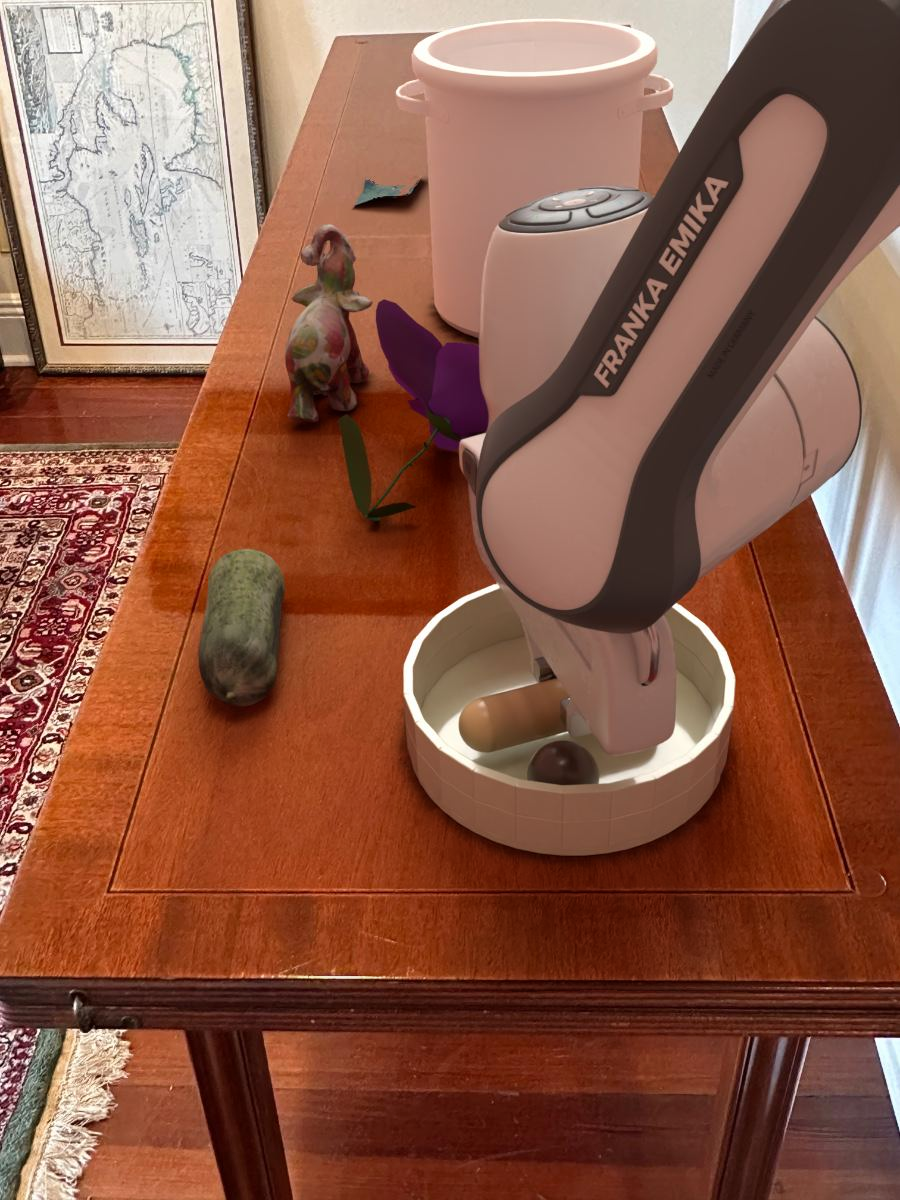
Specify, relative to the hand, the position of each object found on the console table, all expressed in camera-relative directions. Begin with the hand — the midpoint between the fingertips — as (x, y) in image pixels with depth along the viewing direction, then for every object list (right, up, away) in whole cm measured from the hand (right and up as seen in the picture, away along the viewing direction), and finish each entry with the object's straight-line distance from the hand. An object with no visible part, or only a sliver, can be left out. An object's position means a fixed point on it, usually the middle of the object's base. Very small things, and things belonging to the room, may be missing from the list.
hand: (563, 702), depth 70 cm
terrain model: (-14, +58, +83) cm, 102 cm away
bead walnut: (0, -4, -4) cm, 6 cm away
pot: (+2, +36, +53) cm, 64 cm away
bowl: (0, -2, +2) cm, 3 cm away
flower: (-9, +14, +25) cm, 30 cm away
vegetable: (-20, +2, +10) cm, 23 cm away
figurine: (-18, +24, +38) cm, 49 cm away
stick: (0, -1, +1) cm, 2 cm away
